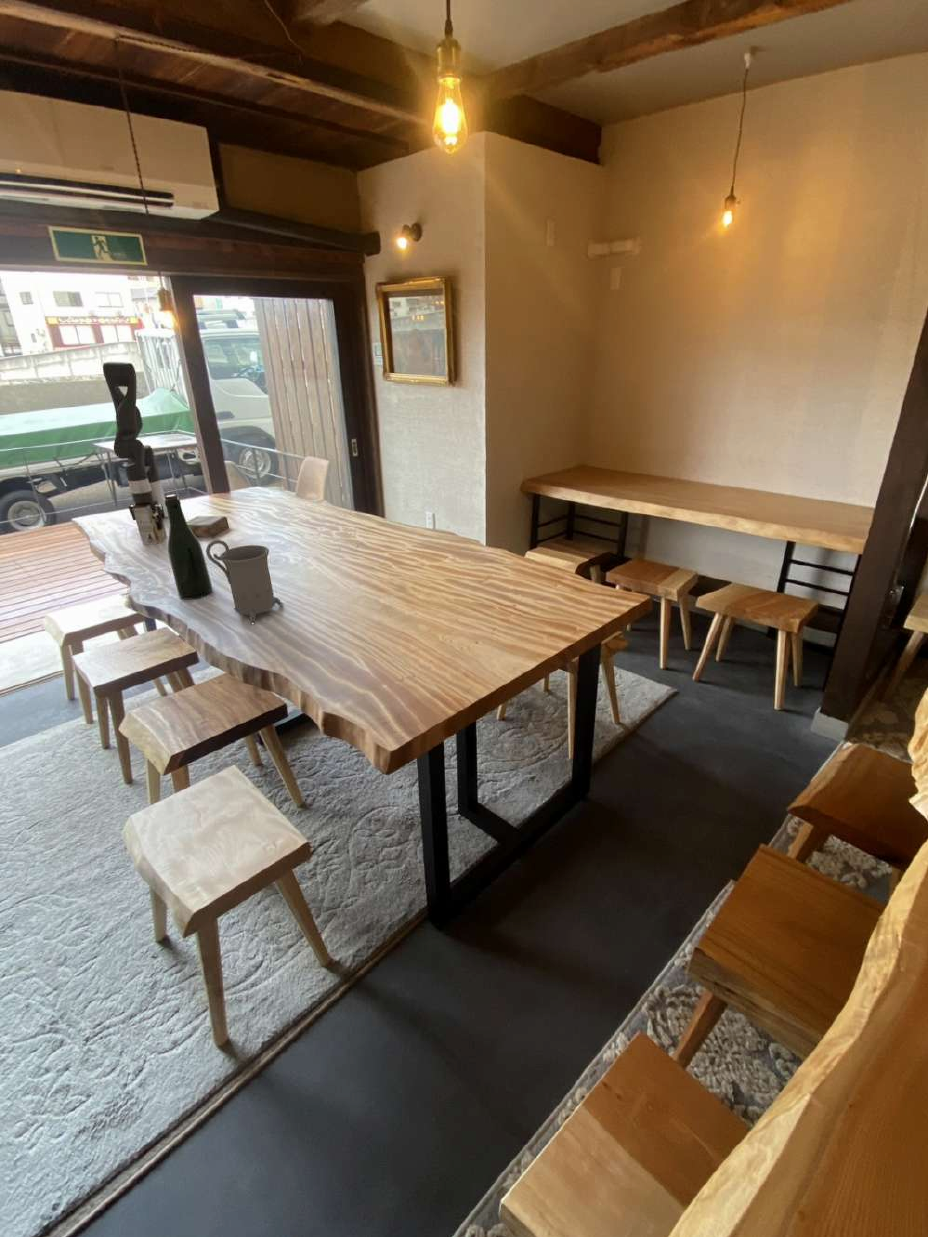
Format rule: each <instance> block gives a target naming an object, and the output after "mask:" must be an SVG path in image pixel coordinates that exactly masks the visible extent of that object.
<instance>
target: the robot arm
mask: <svg viewBox="0 0 928 1237" xmlns="http://www.w3.org/2000/svg"><path fill="white" fill-rule="evenodd" d="M102 372H103V375H104V379H105V382H106V385H107V388H108V391H109V394H110V397H111V398H112V399H111V400H112V403H113V407H114V411H115V420H116V422H115V423H116V434H115V439H114V441H113V442H114V443H113V452H114V455H115V456H116V457H117V458H118V459H122V460H126V459H127V460H128V463H129V464H127V465H125V467H124V471H125V474H126V477H127V478H126V479H127V481H128V486H129V491H130V494H131V497H132V501H133V503H134V504H132V505H131V504H130V506H128V509H129V513H130V515H131V518H132V520H133V521H136V519H135V516H134V513H133V509H132V507H133V506H135V505H137V504H150V505H151V508H152V510H155V508H156V510H157V511H156V514H153V517H154V519H155V521H156V526H157V529H158V530H162V528H163V526H162V522H161V520H164V519H166V518H169V517H168V512H167V508H166V506H165V500H166V499H165V494H164V490H163V486H162V482H161V479H160V475H159V471H158V468H157V467H158V466H157V464H156V458H155V453H154V450H153V448H152V446H150V445H149V444H143V442H142V441H141V440H140V439H138V437H139V435H140V434H141V432H142V429H143V427H144V426H143V424H144V423H143V417H142V413H141V411H140V409H139V407H138V406H137V389H138V388H137V373H136V369H135V367H134V365H133V363H131V362H127V361H126V362H125V361H105V362H104V363H103V365H102ZM120 387H121V388H122V387H123V388H127V389H126V393H125V394H124V393H123V392H122V390H121V389H120ZM146 467H148V469H147V470H146ZM154 501H157V502H158V505H155V504H154ZM157 512H158V513H157ZM156 516H157V517H156Z"/></svg>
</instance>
